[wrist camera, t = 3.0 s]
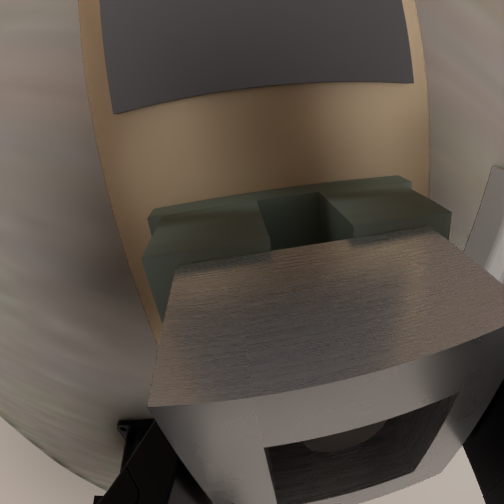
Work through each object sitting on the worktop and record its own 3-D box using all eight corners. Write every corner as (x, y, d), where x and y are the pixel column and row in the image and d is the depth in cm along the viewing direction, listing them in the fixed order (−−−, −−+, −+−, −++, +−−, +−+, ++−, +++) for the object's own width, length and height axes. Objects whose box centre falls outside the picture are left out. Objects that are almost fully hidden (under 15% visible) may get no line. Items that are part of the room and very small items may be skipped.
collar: (225, 423, 10) (232, 525, 7) (176, 265, 7) (147, 406, 4) (398, 387, 10) (441, 472, 7) (428, 225, 7) (533, 311, 4)
